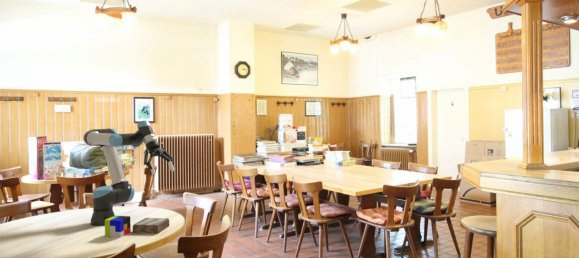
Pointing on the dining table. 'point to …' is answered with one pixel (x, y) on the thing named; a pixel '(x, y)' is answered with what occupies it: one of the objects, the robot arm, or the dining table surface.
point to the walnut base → (151, 225)
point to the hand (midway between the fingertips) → (164, 172)
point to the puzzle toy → (117, 226)
